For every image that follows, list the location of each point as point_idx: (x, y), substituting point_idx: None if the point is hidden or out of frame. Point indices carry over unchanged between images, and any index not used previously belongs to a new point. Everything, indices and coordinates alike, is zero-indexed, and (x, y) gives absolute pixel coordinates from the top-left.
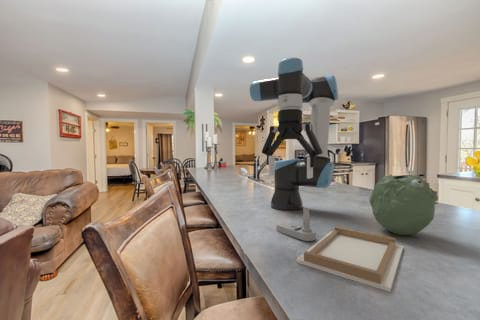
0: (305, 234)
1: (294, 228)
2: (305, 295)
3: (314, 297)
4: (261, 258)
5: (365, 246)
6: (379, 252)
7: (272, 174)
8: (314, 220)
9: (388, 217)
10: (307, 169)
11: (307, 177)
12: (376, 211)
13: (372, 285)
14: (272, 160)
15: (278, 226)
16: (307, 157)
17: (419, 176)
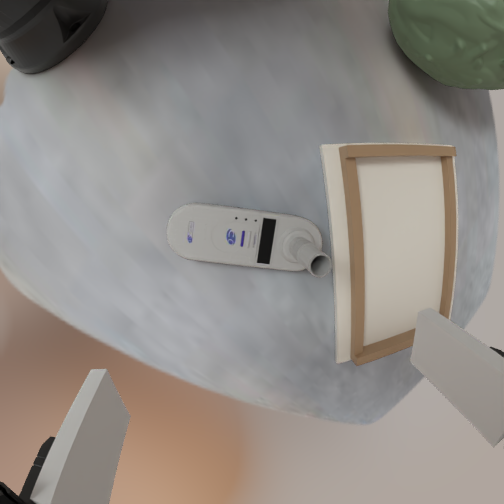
0: (305, 268)
1: (253, 252)
2: (375, 401)
3: (384, 395)
4: (277, 394)
5: (416, 199)
6: (437, 212)
7: (119, 399)
8: (210, 60)
9: (448, 78)
10: (444, 391)
11: (416, 363)
12: (426, 53)
13: None
14: (90, 491)
15: (189, 259)
16: (492, 442)
17: None
